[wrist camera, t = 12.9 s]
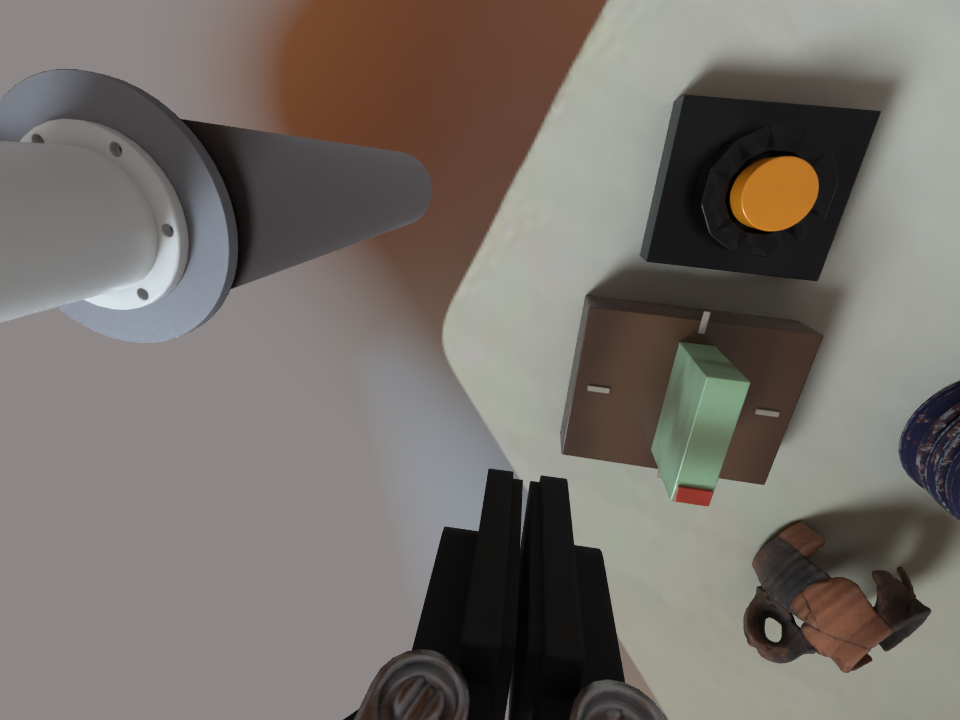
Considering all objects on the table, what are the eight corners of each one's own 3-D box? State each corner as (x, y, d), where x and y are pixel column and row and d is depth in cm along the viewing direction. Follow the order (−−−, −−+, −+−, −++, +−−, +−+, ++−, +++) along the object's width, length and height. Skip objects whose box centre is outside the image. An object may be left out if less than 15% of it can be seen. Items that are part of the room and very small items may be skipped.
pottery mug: (829, 490, 35) (951, 590, 29) (834, 532, 41) (936, 622, 35) (700, 583, 36) (791, 699, 30) (723, 611, 42) (803, 712, 36)
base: (558, 439, 36) (559, 462, 33) (586, 286, 32) (591, 297, 29) (744, 467, 35) (762, 494, 32) (802, 312, 31) (829, 326, 28)
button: (720, 224, 26) (732, 227, 24) (740, 153, 25) (754, 152, 23) (788, 231, 26) (804, 235, 24) (812, 160, 24) (831, 159, 23)
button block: (639, 256, 31) (652, 267, 27) (674, 100, 27) (694, 88, 23) (799, 274, 30) (835, 288, 26) (855, 115, 26) (906, 106, 23)
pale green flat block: (679, 341, 29) (708, 378, 24) (715, 345, 29) (753, 384, 24) (650, 449, 32) (671, 504, 27) (683, 454, 32) (710, 509, 27)
